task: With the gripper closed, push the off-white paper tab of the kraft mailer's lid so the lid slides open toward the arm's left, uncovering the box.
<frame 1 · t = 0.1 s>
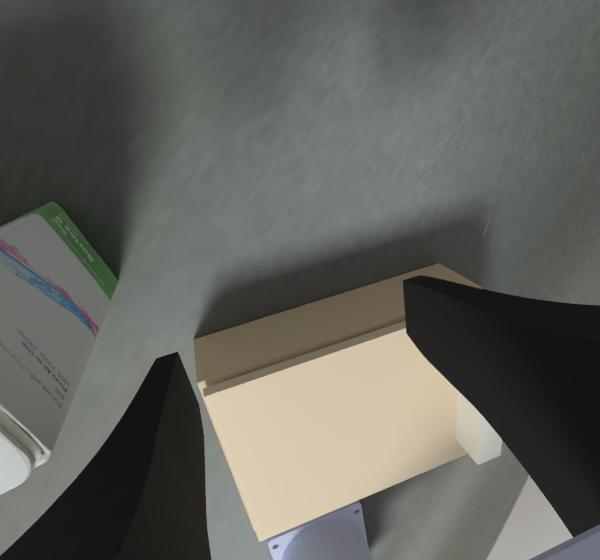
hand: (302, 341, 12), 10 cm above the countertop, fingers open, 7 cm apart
mailer lid: (375, 435, 21), point 6 cm above the countertop, slide at 0.0 cm
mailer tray: (337, 374, 26), on the countertop
ink box: (8, 279, 18), on the countertop
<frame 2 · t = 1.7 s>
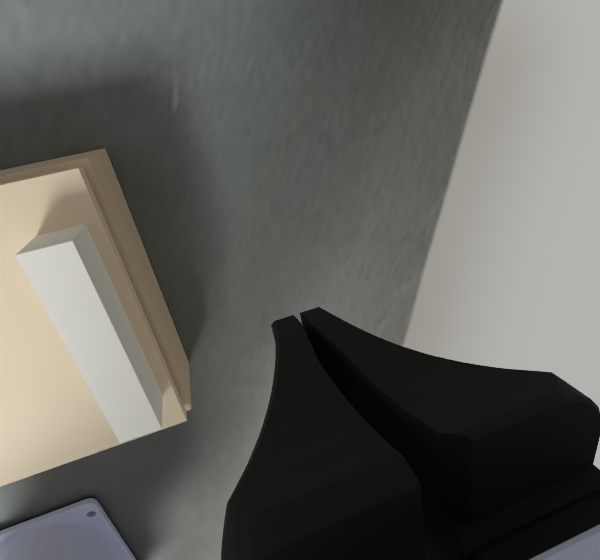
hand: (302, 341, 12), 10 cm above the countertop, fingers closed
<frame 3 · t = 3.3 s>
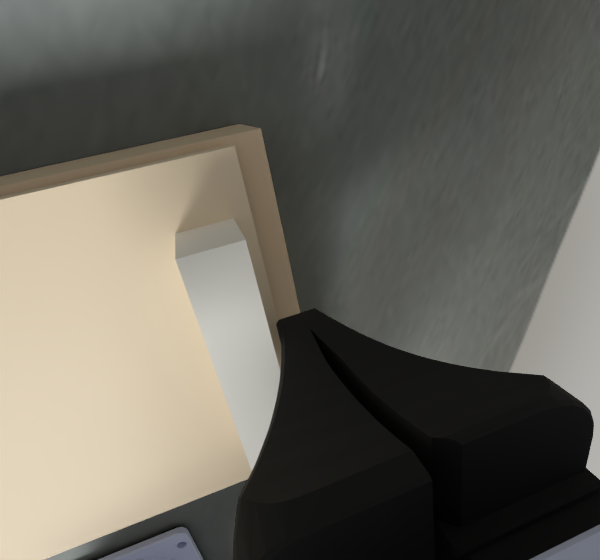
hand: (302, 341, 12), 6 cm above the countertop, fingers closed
mailer lid: (11, 435, 10), point 6 cm above the countertop, slide at 0.7 cm, touching gripper
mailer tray: (82, 325, 15), on the countertop
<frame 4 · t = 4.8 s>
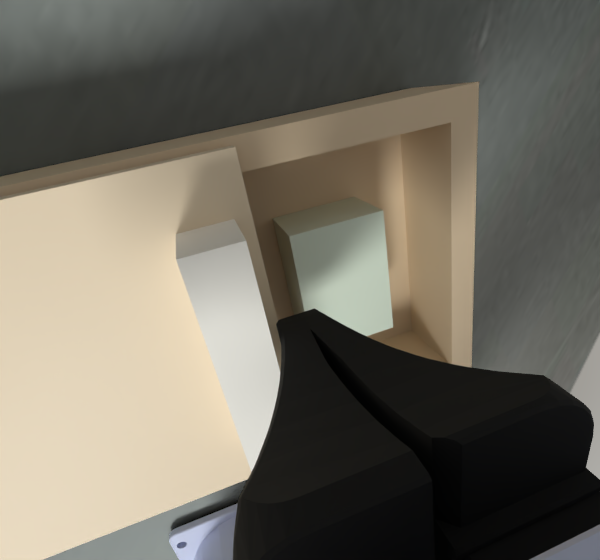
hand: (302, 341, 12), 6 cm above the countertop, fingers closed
mailer lid: (11, 435, 10), point 6 cm above the countertop, slide at 7.8 cm, touching gripper
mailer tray: (252, 275, 17), on the countertop
soap bar: (323, 263, 17), point 1 cm above the countertop, touching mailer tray
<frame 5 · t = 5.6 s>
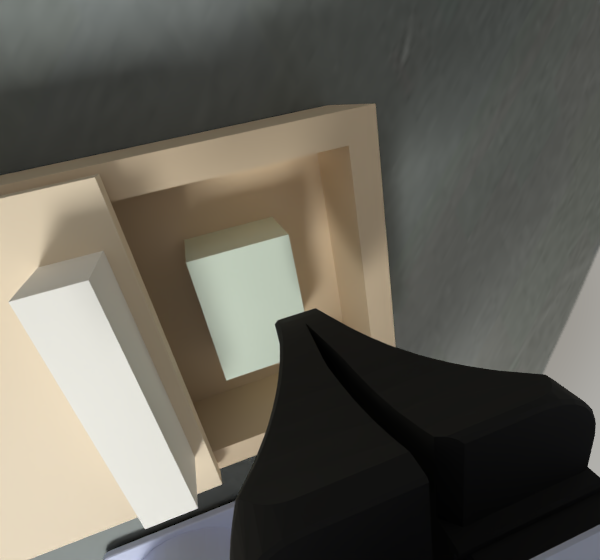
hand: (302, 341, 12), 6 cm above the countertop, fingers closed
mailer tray: (172, 296, 16), on the countertop
soap bar: (244, 284, 16), point 1 cm above the countertop, touching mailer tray
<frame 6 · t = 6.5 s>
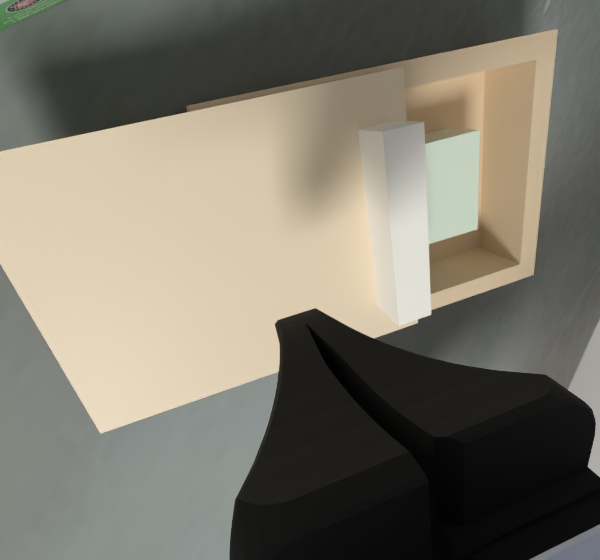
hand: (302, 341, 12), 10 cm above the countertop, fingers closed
mailer lid: (243, 270, 15), point 6 cm above the countertop, slide at 7.8 cm
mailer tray: (363, 193, 21), on the countertop
soap bar: (419, 182, 21), point 1 cm above the countertop, touching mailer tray
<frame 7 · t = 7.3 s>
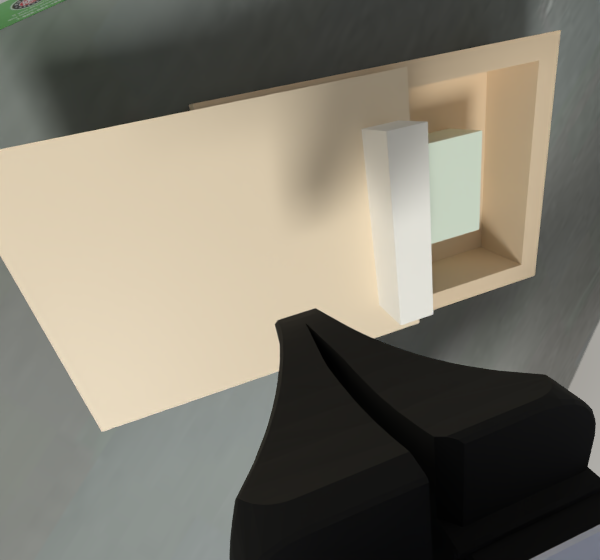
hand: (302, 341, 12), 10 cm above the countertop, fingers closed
mailer lid: (246, 268, 15), point 6 cm above the countertop, slide at 7.8 cm
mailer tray: (365, 193, 21), on the countertop
soap bar: (421, 182, 21), point 1 cm above the countertop, touching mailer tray
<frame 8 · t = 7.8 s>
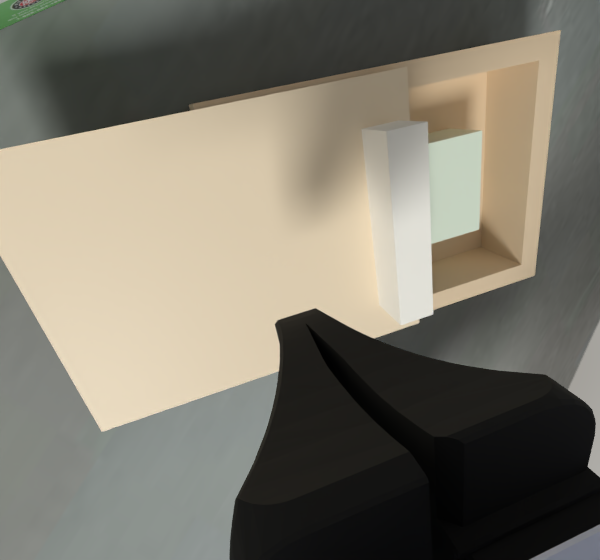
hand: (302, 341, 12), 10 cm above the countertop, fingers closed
mailer lid: (246, 268, 15), point 6 cm above the countertop, slide at 7.8 cm
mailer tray: (365, 193, 21), on the countertop
soap bar: (421, 182, 21), point 1 cm above the countertop, touching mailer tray
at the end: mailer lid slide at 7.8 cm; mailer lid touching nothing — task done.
